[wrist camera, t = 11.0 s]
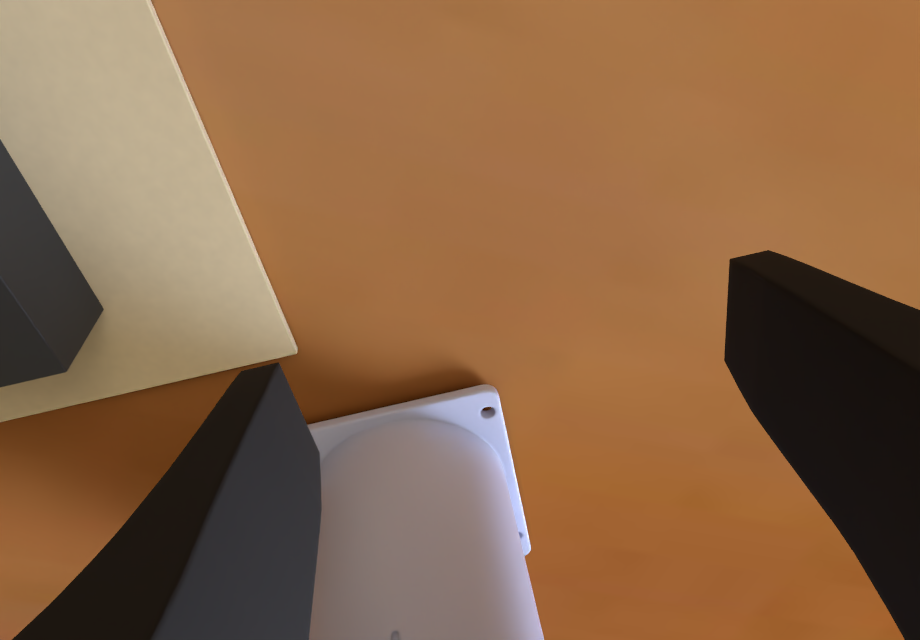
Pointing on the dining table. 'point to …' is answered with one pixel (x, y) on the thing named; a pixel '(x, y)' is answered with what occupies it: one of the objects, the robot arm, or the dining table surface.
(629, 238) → the dining table surface
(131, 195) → the placemat
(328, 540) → the robot arm
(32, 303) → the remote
